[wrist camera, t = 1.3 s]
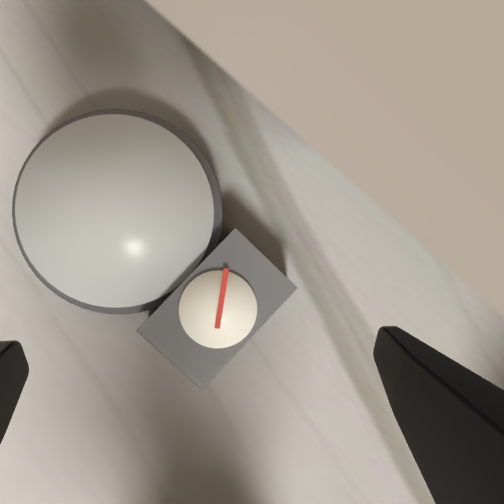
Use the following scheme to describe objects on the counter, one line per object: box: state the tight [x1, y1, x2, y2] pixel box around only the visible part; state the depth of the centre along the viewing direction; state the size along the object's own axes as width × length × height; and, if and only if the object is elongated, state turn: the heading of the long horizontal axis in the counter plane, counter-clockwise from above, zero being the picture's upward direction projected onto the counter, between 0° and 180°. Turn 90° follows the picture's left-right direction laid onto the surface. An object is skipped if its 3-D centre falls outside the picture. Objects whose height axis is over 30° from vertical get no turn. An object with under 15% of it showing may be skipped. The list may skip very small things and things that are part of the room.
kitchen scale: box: [12, 109, 297, 390], centre depth 20 cm, size 12×16×4 cm
